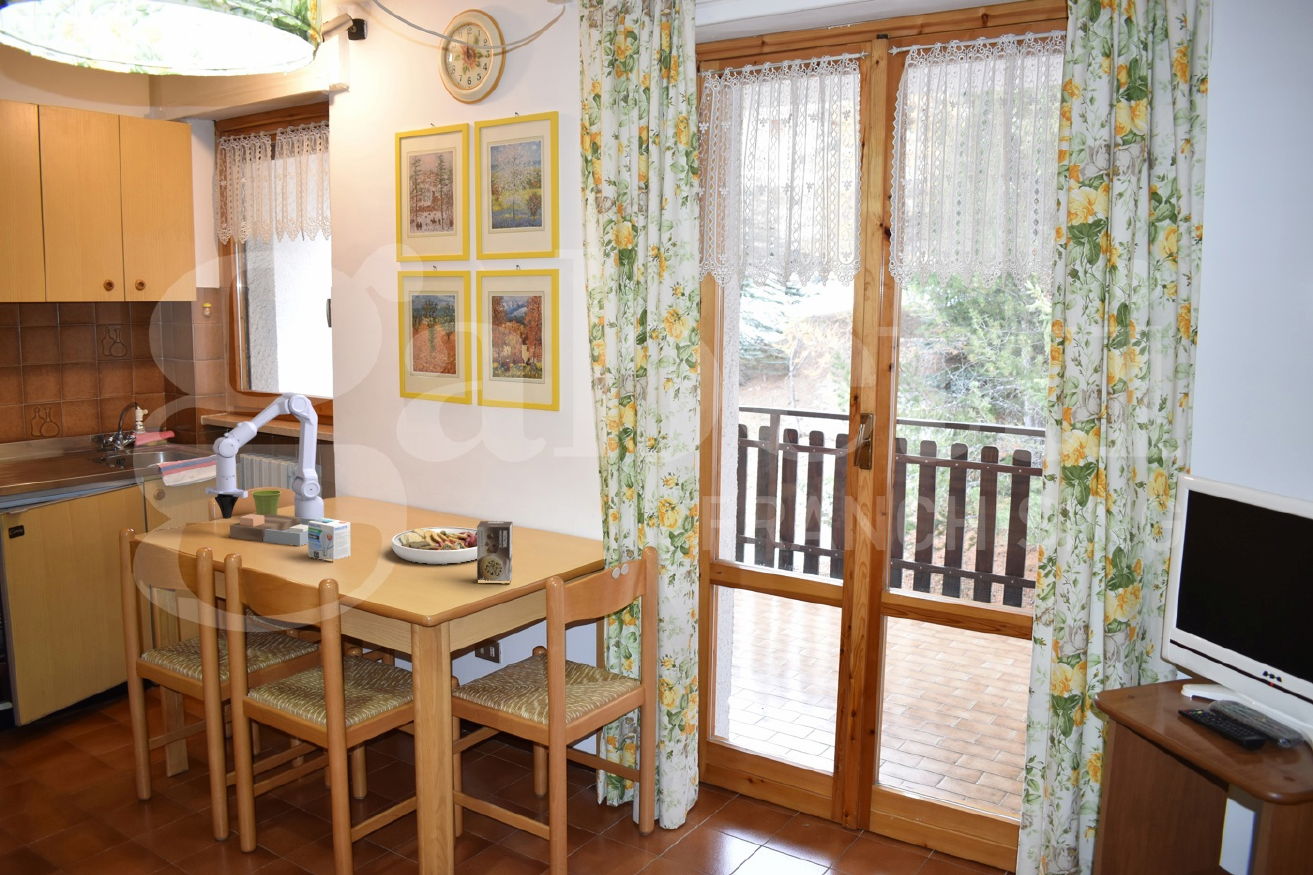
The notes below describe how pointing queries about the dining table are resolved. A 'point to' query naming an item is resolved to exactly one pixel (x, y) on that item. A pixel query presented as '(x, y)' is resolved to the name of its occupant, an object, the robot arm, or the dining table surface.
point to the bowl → (436, 545)
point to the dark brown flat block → (263, 527)
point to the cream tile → (299, 528)
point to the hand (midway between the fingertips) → (227, 518)
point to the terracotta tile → (252, 520)
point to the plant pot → (266, 501)
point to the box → (288, 535)
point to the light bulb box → (328, 539)
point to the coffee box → (494, 551)
